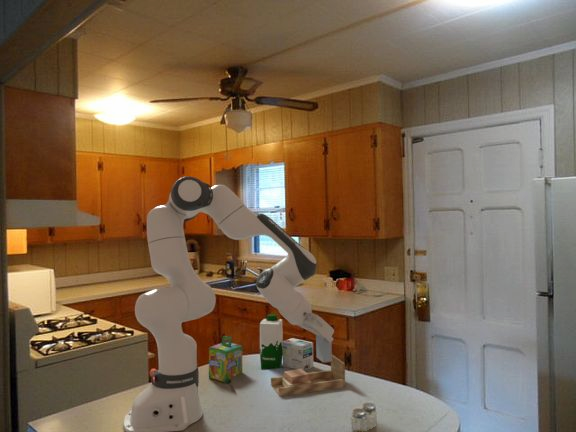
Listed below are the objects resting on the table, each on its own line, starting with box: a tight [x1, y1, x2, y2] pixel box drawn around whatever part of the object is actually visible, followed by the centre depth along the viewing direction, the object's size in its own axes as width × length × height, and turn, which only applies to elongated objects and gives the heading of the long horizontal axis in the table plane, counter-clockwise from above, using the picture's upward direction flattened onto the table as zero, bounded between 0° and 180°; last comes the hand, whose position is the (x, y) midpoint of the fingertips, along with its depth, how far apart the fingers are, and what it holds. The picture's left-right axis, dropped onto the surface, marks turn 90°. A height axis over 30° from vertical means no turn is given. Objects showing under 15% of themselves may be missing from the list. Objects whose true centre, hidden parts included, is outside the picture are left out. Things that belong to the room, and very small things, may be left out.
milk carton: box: [259, 313, 284, 370], centre depth 172 cm, size 9×9×20 cm
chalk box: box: [208, 335, 243, 384], centre depth 162 cm, size 9×9×15 cm
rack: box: [270, 354, 346, 397], centre depth 149 cm, size 23×10×9 cm, turn 108°
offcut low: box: [282, 378, 311, 387], centre depth 148 cm, size 8×7×2 cm
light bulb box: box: [282, 337, 314, 372], centre depth 169 cm, size 11×7×11 cm, turn 49°
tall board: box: [315, 335, 333, 363], centre depth 139 cm, size 3×6×11 cm, turn 19°
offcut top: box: [283, 369, 309, 384], centre depth 148 cm, size 6×6×2 cm
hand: (325, 337), depth 140 cm, fingers closed on tall board, 6 cm apart
